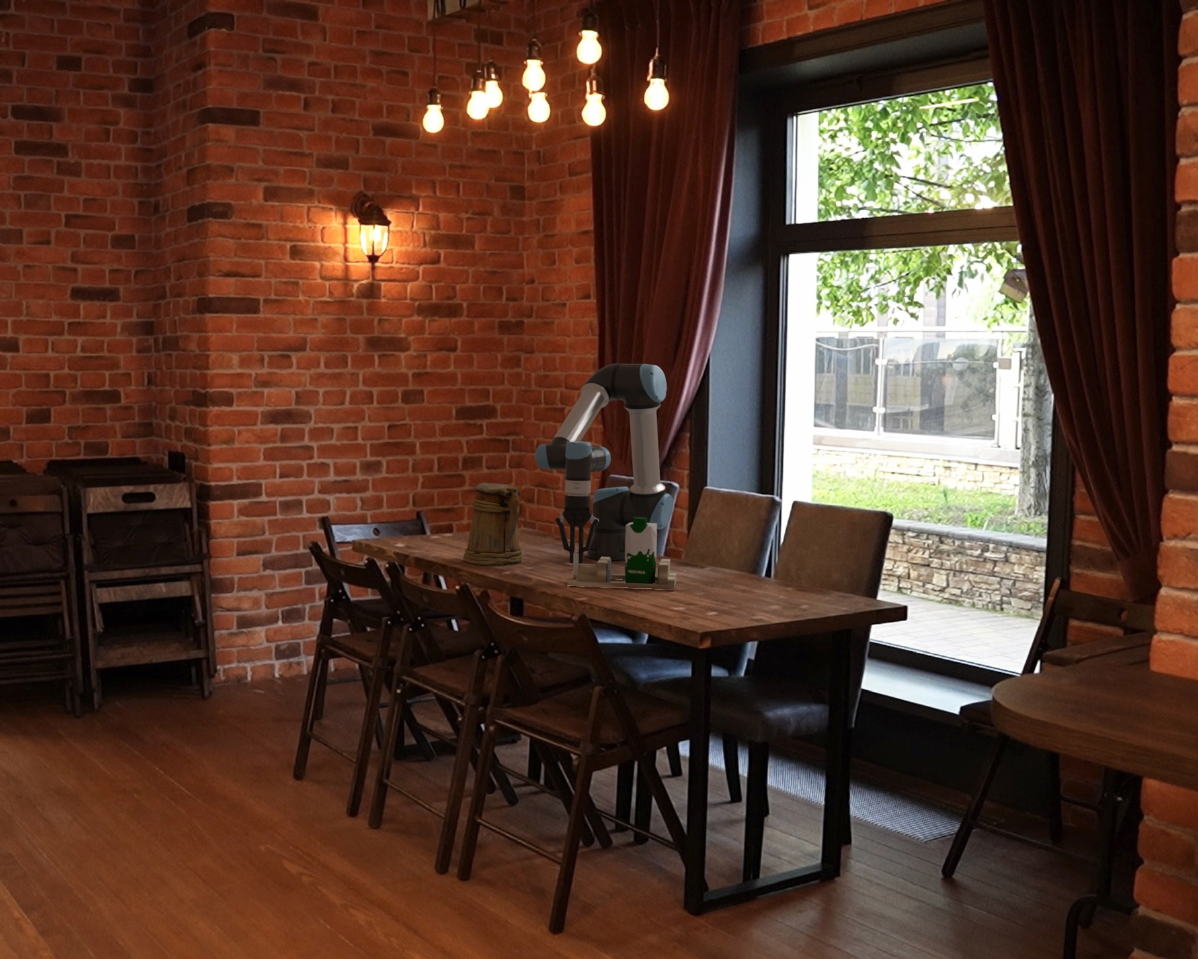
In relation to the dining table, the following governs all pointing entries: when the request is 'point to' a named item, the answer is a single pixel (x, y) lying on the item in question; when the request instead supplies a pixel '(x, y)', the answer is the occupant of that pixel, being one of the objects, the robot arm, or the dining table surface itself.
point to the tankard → (494, 526)
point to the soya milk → (640, 551)
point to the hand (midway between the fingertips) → (576, 574)
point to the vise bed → (664, 581)
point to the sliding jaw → (595, 571)
